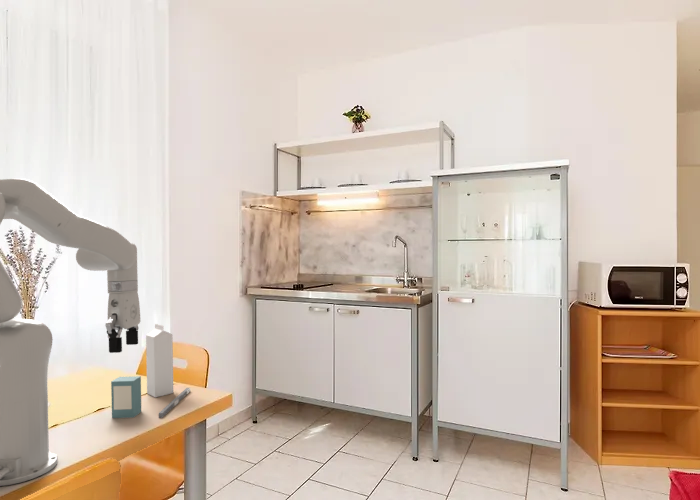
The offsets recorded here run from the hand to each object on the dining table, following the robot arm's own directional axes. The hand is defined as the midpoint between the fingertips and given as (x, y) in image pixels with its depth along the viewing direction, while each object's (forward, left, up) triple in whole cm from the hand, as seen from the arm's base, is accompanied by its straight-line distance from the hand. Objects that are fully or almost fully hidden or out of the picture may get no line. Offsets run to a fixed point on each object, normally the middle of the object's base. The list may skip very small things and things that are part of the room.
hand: (124, 348), depth 123 cm
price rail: (+8, -11, -19) cm, 23 cm away
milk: (+18, -2, -19) cm, 26 cm away
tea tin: (0, 0, -19) cm, 19 cm away
